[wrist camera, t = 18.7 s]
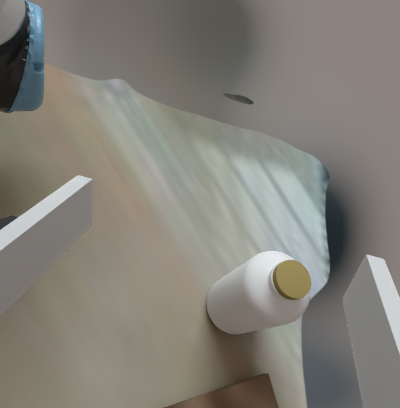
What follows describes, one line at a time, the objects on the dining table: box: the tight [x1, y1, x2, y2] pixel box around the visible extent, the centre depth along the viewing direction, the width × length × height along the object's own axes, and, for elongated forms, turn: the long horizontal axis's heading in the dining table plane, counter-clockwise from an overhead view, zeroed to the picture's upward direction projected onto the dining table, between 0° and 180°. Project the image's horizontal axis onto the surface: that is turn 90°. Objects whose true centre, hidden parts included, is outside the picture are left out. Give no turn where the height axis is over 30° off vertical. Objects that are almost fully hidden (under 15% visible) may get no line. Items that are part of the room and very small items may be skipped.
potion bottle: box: [207, 251, 311, 334], centre depth 43 cm, size 8×8×18 cm
